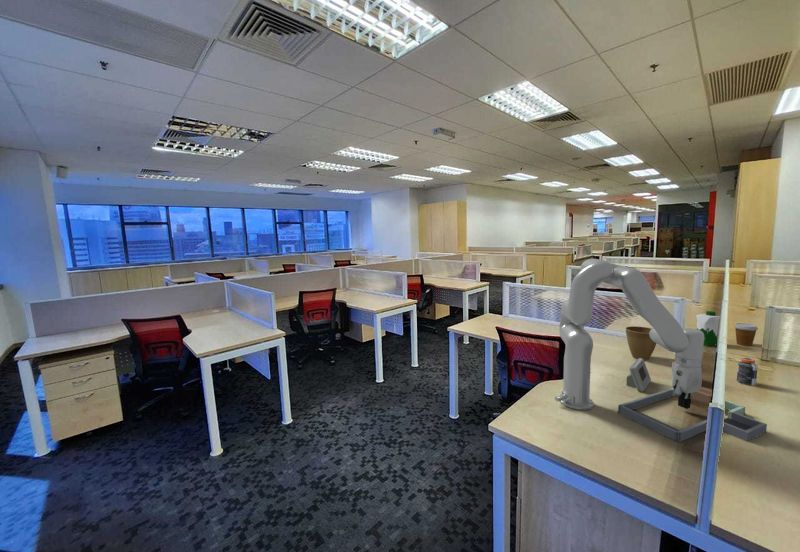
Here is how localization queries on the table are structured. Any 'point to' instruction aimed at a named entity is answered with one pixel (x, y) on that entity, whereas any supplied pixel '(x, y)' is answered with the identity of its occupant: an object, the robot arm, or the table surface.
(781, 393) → the table surface
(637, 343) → the plant pot
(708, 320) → the milk carton
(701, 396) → the walnut block
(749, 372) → the pill bottle
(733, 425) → the box
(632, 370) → the digital clock
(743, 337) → the disposable coffee cup
